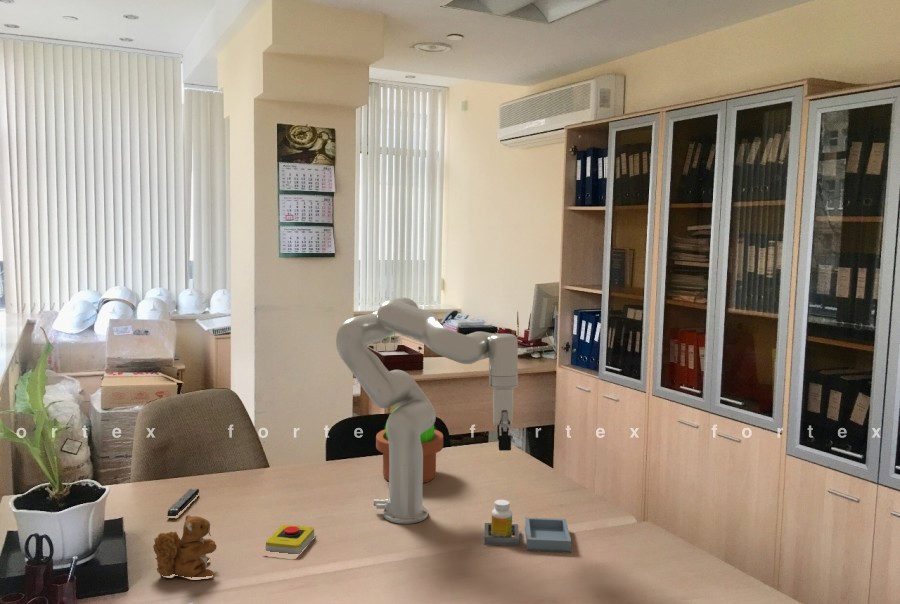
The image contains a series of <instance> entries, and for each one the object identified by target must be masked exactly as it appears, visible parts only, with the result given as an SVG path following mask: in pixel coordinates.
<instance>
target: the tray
mask: <svg viewBox="0 0 900 604" xmlns="http://www.w3.org/2000/svg"><path fill="white" fill-rule="evenodd" d="M524 519H525V520H524V530H525V542H526V551H528V552H545V553H546V552H548V553H549V552H550V553H553V552H554V553H572V539H571V534H570V530H569V527H568V522H567V518H550V517H549V518H547V517H545V518H544V517H525V518H524Z"/></svg>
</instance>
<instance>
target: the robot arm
mask: <svg viewBox="0 0 900 604" xmlns="http://www.w3.org/2000/svg"><path fill="white" fill-rule="evenodd" d="M395 334H399V335H402V336H404V337H406V338H409V339H412V340H415V341H416V342H417V341H418V342H420V343H421V344H424V345H425V346H426V347H427V348H428V349H430V350H431V351H432V352H433V353H435V354H437V355H439V356H441V357H443V358H446V359H448V360H450V361H454V362H457V363H458V364H464V365H473V364H474V363H477V362H479V361H481V360H486V359H488V380H489V381H488V382H489V383H488V387H489V388H491V389H492V421H493V422H492V423H493V426H494V427H497V429H496V430H497V433H496V434H497V440H498V451H504V452H505V451H511V450H512V434H511V427H512V426H513V422H514V421H513V418H514V389H516V388H518V387H519V373H518V370H519V368H518V367H519V365H518V364H519V363H518V362H519V360H518V359H519V358H518V357H519V356H518V355H519V354H518V353H519V350H518V348H519V347H518V346H519V345H518V343H519V342H518V338H517V336H516V335H515V334H512V333H492V332H488V331H487V332H486V331H481V330H480V331H474V332H471V333H469V334H468V333H467V334H463V333H460V332H457V331H455V330H452V329H450V328H447V327H446V326H444V325H442V324H441V323H440V322H439V318H438V316H437V314H435V313H432V312H429V311H427V310H424V309H422V308H419V306H418V304H417V303H416V302H415V301H414V300H413V299H411V298H410V297H409V298H408V297H398V298H397V297H396V298H392V299H388V300H386V301H384V302H382V303H381V305H379V307H378V310H377V311H376V310H375V311H374V312H372V313H369V314H363V315H357V316H354V317H350V318H348V319H346V320H345V321H344V322H342V324H341V325H340V326H339V327H338V330H337V333H336V336H335V346H336V351H337V353H338V355H339V357H340V359H341V360H342V362H343V363H344V364H345V365H346V367H347V368H348V370H350V372H351V373H352V374H353V376H354V377H355V379H356V380H357V382H358V383H359V385H360V386H361V388H362V389H363V390H364V392H365V393H366V395H367V396H368V397H369V399H370V400H371V402H372V403H373V404H374V405H375V406H376V407H378V408H380V409H387V408H388V409H389V408H392V407H393V406H396V408H397V407H398V408H397V409H395V408H394V409H395V410H394V409H393V410H394V411H393V410H392V411H391V413H389V415H390V416H388V418H387V420H386V423H387V435H388V441H389V481H388V482H389V483H388V485H389V486H388V498H385V499H381V498H374V499H373V507H376V509H381V510H382V509H383V512H382V513H383V518H385V520H387V521H389V522H391V523H395V524H400V525H401V524H402V525H403V524H405V525H406V524H409V525H410V524H416V523H419V522H422V521H424V520H425V519H427V518H428V516H429V512H428V511H429V510H428V509H427V508H426V507H425V506H424V505H423V497H424V496H423V495H424V494H423V492H424V491H423V490H424V489H423V488H424V483H423V448H422V444H421V440H420V435H421V434H422V433H424V432H425V431H427V430H428V429H430V428H431V427H432V426H433V424H434V425H435V422H436V417H437V416H436V415H437V414H436V409H435V407H434V406H433V404H432V402H431V400H430V399H429V398H428V397H427V396H426V394H425V392H424V391H423V390H422V389H421V387H420V386H419V385H418V382H416V381H415V379H414V378H413V376H412V375H410V374H409V373H408V372H406V371H404V370H401V369H393V370H388V368H387V367H386V366H385V365H384V363H383V362H382V361H381V359H380V358H379V356H377V354H375V353H374V352H373V351H372V350H370V348H368V345H371V344H374V343H378V342H380V341H383V340H385V339H388V338H389V337H391V336H393V335H395Z"/></svg>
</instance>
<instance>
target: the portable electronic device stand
mask: <svg viewBox="0 0 900 604" xmlns="http://www.w3.org/2000/svg"><path fill="white" fill-rule="evenodd" d="M198 493H199V494H200V489H199V488H189V489H188V490H187V491H186V492H184V494H183V495H182V496H181V497H180V498H178V500H177V501H176V502H175V503H174V504H172V506H171V507H169V509H168V511H167V516H176V515H178V513H179V512H180V511H182V510H183V509H184V508H185V507H186V506H187V505H188V504H189V503H190V502H191V501H192V500H193V499H194V498H195V497H196V495H198Z"/></svg>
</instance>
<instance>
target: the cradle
mask: <svg viewBox="0 0 900 604" xmlns="http://www.w3.org/2000/svg"><path fill="white" fill-rule="evenodd" d="M491 524H492V522H484V532H483V545H492V546H513V547H519V546H520V533H519V531H520V530H519V524H518V523H512V534H514V536H512V537H511V536H491V535H489V533H491Z"/></svg>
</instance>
